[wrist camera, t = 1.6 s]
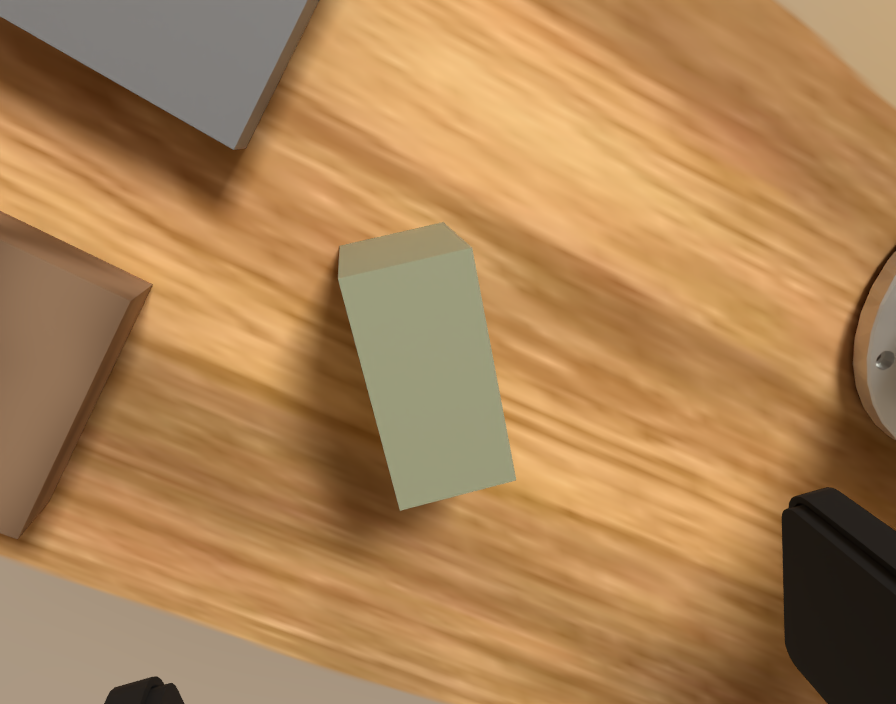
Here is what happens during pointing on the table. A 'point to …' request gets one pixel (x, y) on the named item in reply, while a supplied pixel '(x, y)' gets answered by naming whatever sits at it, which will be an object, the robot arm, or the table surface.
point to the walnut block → (52, 357)
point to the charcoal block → (179, 51)
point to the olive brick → (427, 362)
